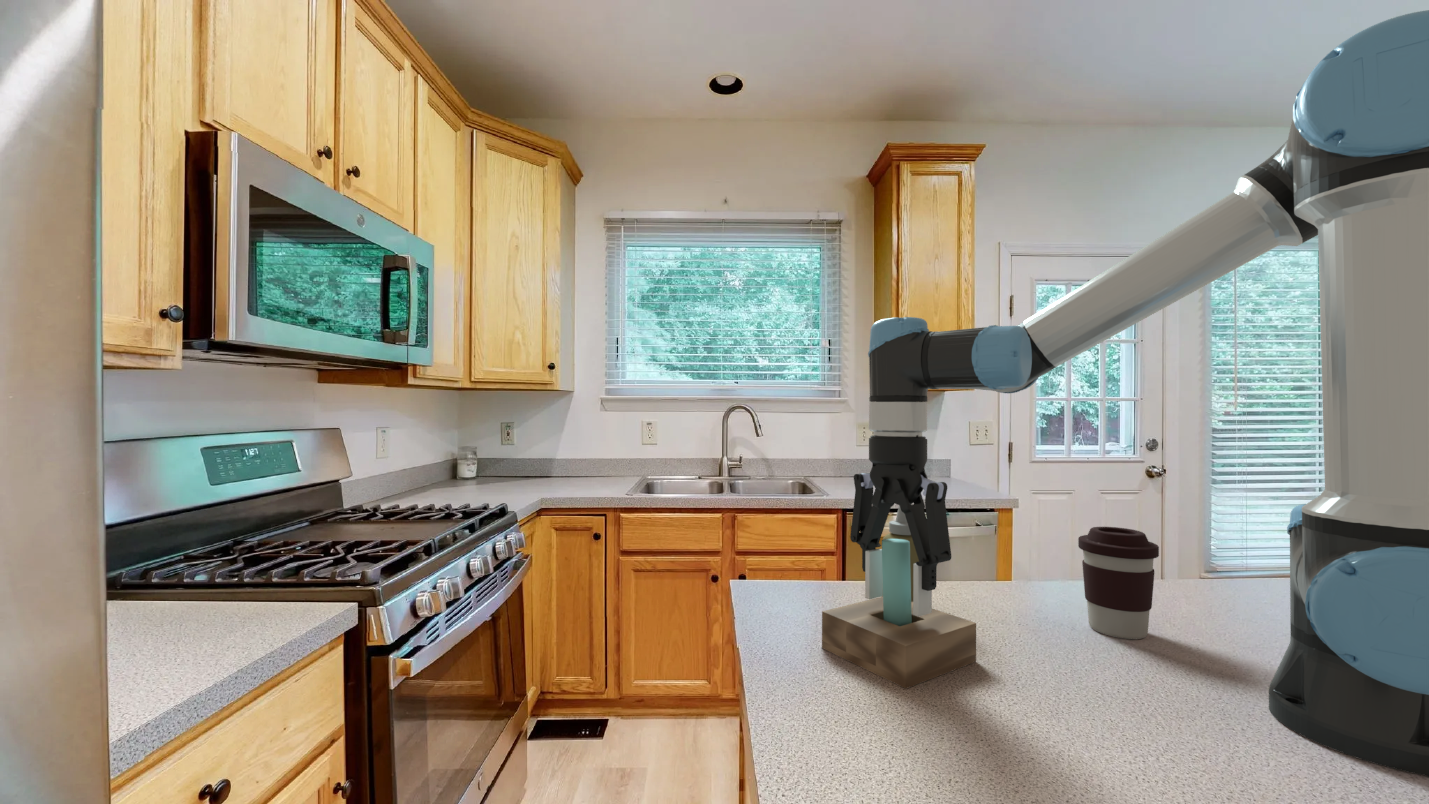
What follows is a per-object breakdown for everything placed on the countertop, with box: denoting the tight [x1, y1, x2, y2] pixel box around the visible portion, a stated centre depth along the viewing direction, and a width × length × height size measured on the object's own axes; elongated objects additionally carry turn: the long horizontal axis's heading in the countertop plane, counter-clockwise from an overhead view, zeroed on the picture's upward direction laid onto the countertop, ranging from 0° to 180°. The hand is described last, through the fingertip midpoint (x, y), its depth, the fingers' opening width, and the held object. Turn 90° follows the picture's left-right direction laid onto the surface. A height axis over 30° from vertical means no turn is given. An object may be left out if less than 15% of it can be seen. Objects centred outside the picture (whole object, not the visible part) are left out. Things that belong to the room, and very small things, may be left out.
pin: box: [881, 539, 912, 626], centre depth 79 cm, size 4×4×14 cm
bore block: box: [821, 597, 977, 690], centre depth 78 cm, size 14×14×5 cm
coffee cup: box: [1077, 526, 1160, 640], centre depth 88 cm, size 10×10×15 cm
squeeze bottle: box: [881, 505, 919, 602], centre depth 96 cm, size 8×8×18 cm
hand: (897, 604), depth 79 cm, fingers open, 7 cm apart
